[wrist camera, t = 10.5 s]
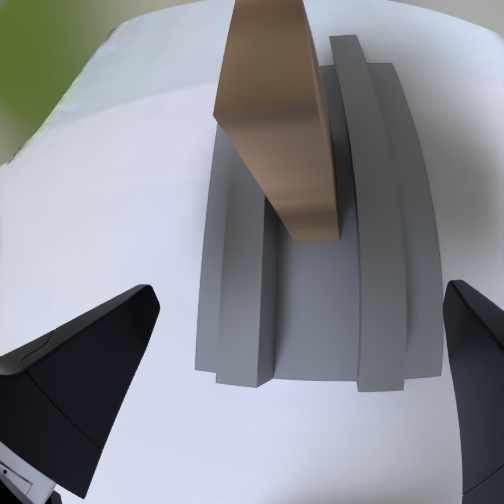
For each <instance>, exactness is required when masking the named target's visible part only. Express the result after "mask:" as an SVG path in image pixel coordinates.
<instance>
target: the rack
mask: <svg viewBox="0 0 504 504" xmlns="http://www.w3.org/2000/svg"><path fill="white" fill-rule="evenodd" d="M329 38H330V43H331V49H332V54H333V60H334V65H329V66H319V68H320V72H321V77H322V82H323V87H324V92H325V97H326V103H327V108H328V114H329V120H330V126H331V132H332V139H333V149H334V159H335V170H336V182H337V195H338V211H339V231H340V241H329V242H304V243H295V241H294V240H293V238H292V236H291V235H290V233H289V231H288V230H287V228H286V227H285V225H284V223H283V222H282V220H281V219H280V217H279V215H278V214H277V212H276V211H275V209H274V207H273V206H272V204H271V203H270V201H269V200H268V198H267V196H266V195H265V193H264V192H263V190H262V189H261V187H260V185H259V184H258V182H257V181H256V179H255V178H254V176H253V175H252V173H251V172H250V170H249V169H248V167H247V165H246V164H245V162H244V161H243V159H242V158H241V156H240V155H239V153H238V152H237V150H236V149H235V147H234V146H233V144H232V143H231V141H230V140H229V138H228V137H227V135H226V134H225V132H224V131H223V129H222V128H221V127H220V125H219V124H217V131H216V138H215V145H214V153H213V161H212V169H211V177H210V185H209V194H208V203H207V212H206V222H205V232H204V242H203V253H202V265H201V277H200V290H199V304H198V319H197V336H196V355H195V370H199V371H206V372H213V373H216V383H220V384H228V385H236V386H244V387H254V388H257V387H259V386H261V385H262V384H264V383H266V382H268V381H269V380H271V379H287V380H309V381H357V387H358V392H379V391H399V390H403V388H404V379H413V378H425V377H436V376H441V371H442V353H443V295H442V277H441V264H440V253H439V244H438V236H437V229H436V222H435V215H434V209H433V203H432V198H431V192H430V187H429V182H428V177H427V173H426V168H425V164H424V160H423V156H422V152H421V148H420V144H419V141H418V137H417V133H416V130H415V126H414V123H413V120H412V117H411V113H410V110H409V107H408V104H407V101H406V98H405V96H404V93H403V90H402V87H401V84H400V82H399V79H398V77H397V74H396V71H395V69H394V66H393V64H392V63H366V61H365V58H364V55H363V52H362V49H361V46H360V44H359V41H358V38H357V36H356V35H342V36H329Z"/></svg>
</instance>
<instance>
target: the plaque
mask: <svg viewBox="0 0 504 504" xmlns="http://www.w3.org/2000/svg"><path fill="white" fill-rule="evenodd" d="M213 116H214V118H215V119H216V121H217V122H218V124H219V125H220V127H221V128H222V129H223V131H224V132H225V134H226V135H227V137H228V138H229V140H230V141H231V143H232V144H233V146H234V147H235V149H236V150H237V152H238V153H239V155H240V156H241V158H242V159H243V161H244V162H245V164H246V165H247V167H248V169H249V170H250V172H251V173H252V175H253V176H254V178H255V179H256V181H257V182H258V184H259V185H260V187H261V189H262V190H263V192H264V193H265V195H266V196H267V198H268V200H269V201H270V203H271V204H272V206H273V207H274V209H275V211H276V212H277V214H278V215H279V217H280V219H281V220H282V222H283V223H284V225H285V227H286V228H287V230H288V231H289V233H290V235H291V236H292V238H293V240H294V241H295V243H304V242H329V241H340V231H339V211H338V195H337V182H336V170H335V159H334V149H333V139H332V132H331V126H330V120H329V114H328V108H327V103H326V97H325V92H324V87H323V82H322V77H321V72H320V68H319V63H318V59H317V54H316V50H315V46H314V42H313V37H312V33H311V29H310V26H309V22H308V18H307V14H306V11H305V7H304V4H303V0H236V1H235V5H234V9H233V14H232V18H231V23H230V28H229V32H228V37H227V42H226V47H225V52H224V57H223V62H222V67H221V72H220V78H219V83H218V89H217V95H216V100H215V106H214V112H213Z"/></svg>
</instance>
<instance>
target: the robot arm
mask: <svg viewBox="0 0 504 504" xmlns="http://www.w3.org/2000/svg"><path fill="white" fill-rule="evenodd" d="M159 312H160V304H159V301H158V299H157V297H156V294H155V292H154V290H153V287H152V286H151V285H148V284H140V285H137V286H135V287H133V288H131V289H129V290H127V291H126V292H124V293H122V294H120V295H118V296H116V297H114V298H112V299H110V300H108V301H106V302H105V303H103V304H101V305H99V306H97V307H95V308H93V309H91V310H89V311H88V312H86V313H84V314H82V315H80V316H78V317H76V318H75V319H73V320H71V321H69V322H67V323H65V324H63V325H62V326H60V327H58V328H56V329H55V330H52V331H50V332H49V333H47V334H45V335H43V336H41V337H39V338H37V339H35V340H33V341H31V342H29V343H27V344H25V345H23V346H21V347H19V348H17V349H15V350H13V351H11V352H9V353H7V354H5V355H3V356H0V504H62V501H61V496H60V494H59V493H58V492H56V491H55V490H54V488H55V486H56V485H57V484H58V485H60V486H61V487H63V488H65V489H66V490H68V491H70V492H71V493H73V494H75V495H77V496H78V497H80V498H82V499H84V498H85V497H86V495H87V492H88V489H89V486H90V483H91V481H92V478H93V475H94V473H95V470H96V467H97V465H98V462H99V459H100V457H101V454H102V452H103V449H104V446H105V444H106V441H107V439H108V436H109V434H110V431H111V429H112V426H113V424H114V421H115V419H116V417H117V414H118V412H119V409H120V407H121V405H122V402H123V400H124V398H125V395H126V393H127V391H128V389H129V386H130V384H131V382H132V379H133V377H134V375H135V373H136V370H137V368H138V366H139V364H140V362H141V359H142V357H143V355H144V353H145V351H146V348H147V346H148V343H149V340H150V337H151V334H152V331H153V329H154V326H155V323H156V320H157V317H158V315H159ZM443 318H444V324H445V332H446V340H447V349H448V357H449V363H450V369H451V374H452V379H453V385H454V391H455V397H456V404H457V411H458V419H459V428H460V439H461V452H462V475H463V495H464V496H463V497H462V504H504V311H503V310H502V309H501V308H499V307H498V306H497V305H495V304H494V303H493V302H492V301H490V300H489V299H488V298H486V297H485V296H484V295H482V294H481V293H480V292H478V291H477V290H476V289H474V288H473V287H471V286H470V285H469V284H467V283H466V282H465V281H463V280H450V281H449V282H448V284H447V288H446V293H445V298H444V302H443Z"/></svg>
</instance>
